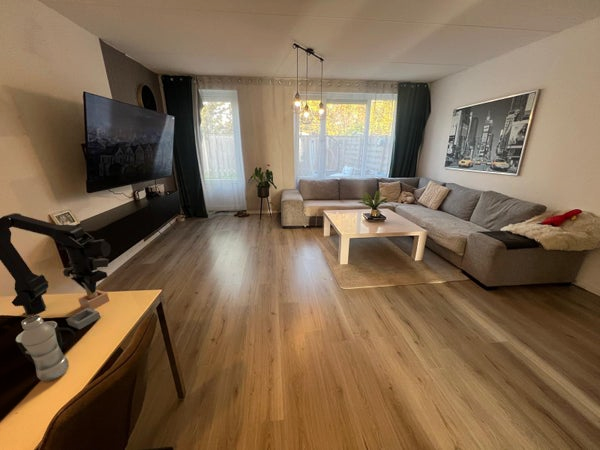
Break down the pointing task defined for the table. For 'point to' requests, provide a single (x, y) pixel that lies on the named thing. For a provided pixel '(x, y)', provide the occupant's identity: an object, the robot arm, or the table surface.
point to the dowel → (91, 294)
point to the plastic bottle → (43, 348)
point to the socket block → (84, 322)
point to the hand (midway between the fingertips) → (91, 291)
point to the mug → (58, 337)
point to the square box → (94, 300)
